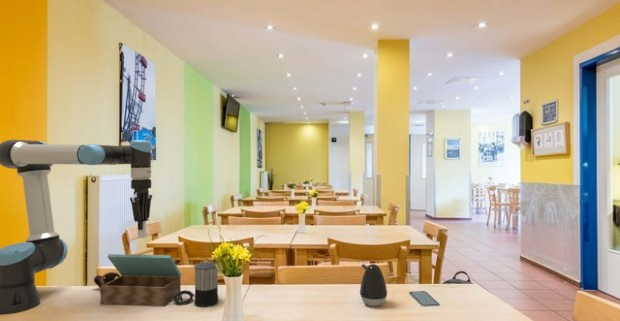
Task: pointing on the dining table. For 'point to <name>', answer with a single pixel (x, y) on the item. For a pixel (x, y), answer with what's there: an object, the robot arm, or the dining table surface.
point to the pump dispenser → (373, 286)
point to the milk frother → (202, 286)
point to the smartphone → (424, 298)
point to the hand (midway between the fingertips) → (142, 237)
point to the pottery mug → (108, 277)
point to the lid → (145, 265)
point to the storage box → (140, 290)
